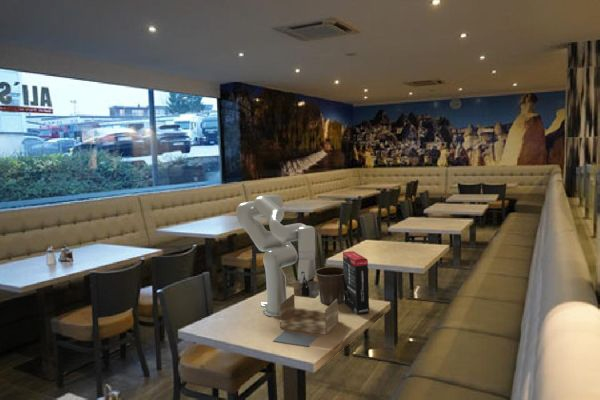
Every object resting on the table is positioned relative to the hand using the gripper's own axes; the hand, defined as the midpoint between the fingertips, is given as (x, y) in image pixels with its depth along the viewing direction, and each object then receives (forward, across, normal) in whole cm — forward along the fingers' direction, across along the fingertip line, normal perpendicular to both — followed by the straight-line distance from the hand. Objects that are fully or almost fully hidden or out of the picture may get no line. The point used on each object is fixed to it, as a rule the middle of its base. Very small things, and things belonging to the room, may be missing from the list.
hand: (307, 293), depth 203 cm
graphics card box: (+15, -26, +14) cm, 33 cm away
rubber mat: (+15, +16, 0) cm, 22 cm away
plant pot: (+15, -33, 0) cm, 36 cm away
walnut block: (+1, 0, -1) cm, 1 cm away
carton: (+15, 0, 0) cm, 15 cm away
